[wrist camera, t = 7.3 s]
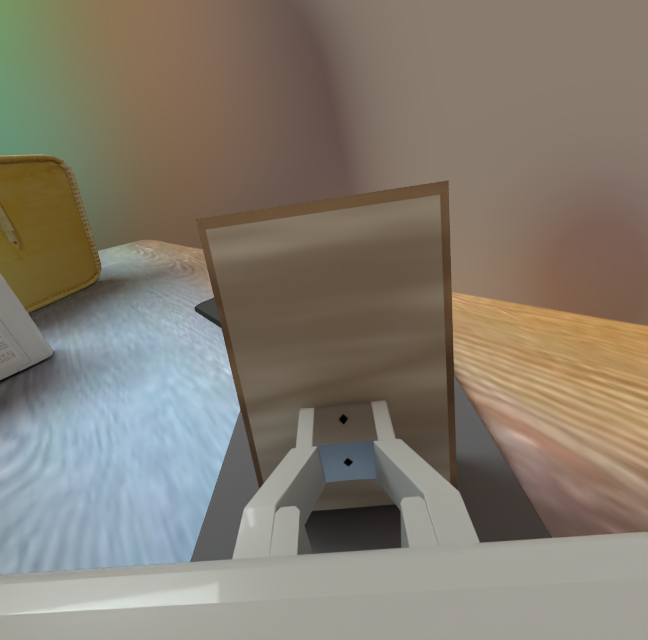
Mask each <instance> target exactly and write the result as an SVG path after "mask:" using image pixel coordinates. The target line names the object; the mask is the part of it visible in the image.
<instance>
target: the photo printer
mask: <svg viewBox="0 0 648 640" xmlns="http://www.w3.org/2000/svg"><path fill="white" fill-rule="evenodd" d="M52 354H53V349H52V348H51V346H50V345H49V343H48V342H47V341H46V339H45V338H44V336H43V335H42V333H41V332H40V330H39V329H38V327H37V326H36V324H35V323H34V322H33V320H32V319H31V317H30V316H29V314H28V313H27V311H26V310H25V309H24V307H23V305H22V304H21V302H20V301H19V300H18V298H17V297H16V295H15V294H14V292H13V291H12V289H11V288H10V286H9V285H8V284H7V282H6V281H5V279H4V278H3V276H2V275H1V274H0V380H2V379H4V378H6V377H8V376H10V375H12V374H15V373H17V372H19V371H22V370H24V369H26V368H28V367H30V366H32V365H34V364H36V363H38V362H40V361H42V360H44V359H46V358H49V357H50V356H52Z"/></svg>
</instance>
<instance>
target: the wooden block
mask: <svg viewBox="0 0 648 640" xmlns="http://www.w3.org/2000/svg"><path fill="white" fill-rule="evenodd" d="M196 221H197V226H198V230H199V234H200V238H201V243H202V247H203V251H204V255H205V260H206V264H207V268H208V272H209V277H210V281H211V285H212V290H213V294H214V298H215V302H216V307H217V311H218V315H219V319H220V324H221V328H222V332H223V336H224V341H225V345H226V349H227V353H228V358H229V362H230V366H231V370H232V375H233V379H234V383H235V388H236V392H237V396H238V400H239V405H240V409H241V413H242V417H243V422H244V426H245V430H246V434H247V439H248V443H249V447H250V451H251V456H252V460H253V464H254V468H255V473H256V477H257V481H258V486H259V489H260V488H261V486H262V485H263V484H264V483H265V481H266V480H267V479H268V478H269V476H270V475H271V474H272V473H273V471H274V470H275V469H276V468H277V466H278V465H279V464H280V463H281V461H282V460H283V459H284V457H285V456H286V455H287V454H288V452H289V451H290V450H291V449H293V448H296V440H297V430H298V420H299V412H300V409H301V408H314V407H323V406H337V405H345V404H354V403H363V402H372V401H381V400H385V401H386V402H387V406H388V410H389V414H390V418H391V422H392V426H393V429H394V433H395V437H396V439H401V440H402V441H404V442H405V443H406V444H407V445H408V446H409V447H410V448H411V449H412V450H413V451H415V452H416V453H417V454H418V455H419V456H420V457H421V458H422V459H423V460H425V461H426V462H427V463H428V464H429V465H430V466H431V467H432V468H433V469H434V470H436V471H437V472H438V473H439V474H440V475H441V476H442V477H443V478H444V479H446V480H447V481H448V482H449V483H450V484H451V485H452V486H453V487H454V488H455V489H457V463H456V429H455V394H454V360H453V325H452V291H451V256H450V222H449V187H448V181H443V182H437V183H430V184H423V185H417V186H410V187H403V188H397V189H390V190H384V191H377V192H371V193H364V194H358V195H352V196H344V197H338V198H331V199H325V200H318V201H312V202H306V203H299V204H292V205H285V206H279V207H273V208H266V209H259V210H253V211H246V212H240V213H233V214H226V215H220V216H214V217H207V218H201V219H196ZM393 504H395V503H394V502H393V500H392V499H391V498H390V496H389V495H388V494H387V493H386V491H385V490H384V489H383V487H382V486H381V485H380V483H379V482H378V481H377V478H376V479H358V480H345V481H336V482H327V483H326V485H325V487H324V489H323V491H322V493H321V495H320V497H319V499H318V500H317V502H316V504H315V506H314V508H313V510H312V511H319V510H331V509H344V508H356V507H369V506H381V505H393Z"/></svg>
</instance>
